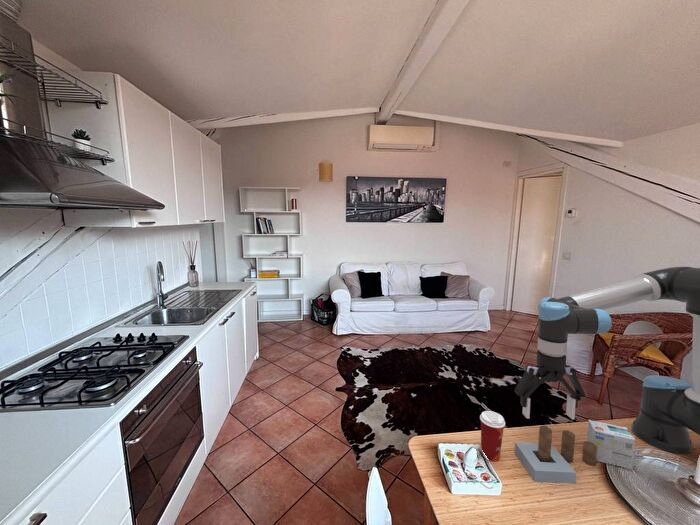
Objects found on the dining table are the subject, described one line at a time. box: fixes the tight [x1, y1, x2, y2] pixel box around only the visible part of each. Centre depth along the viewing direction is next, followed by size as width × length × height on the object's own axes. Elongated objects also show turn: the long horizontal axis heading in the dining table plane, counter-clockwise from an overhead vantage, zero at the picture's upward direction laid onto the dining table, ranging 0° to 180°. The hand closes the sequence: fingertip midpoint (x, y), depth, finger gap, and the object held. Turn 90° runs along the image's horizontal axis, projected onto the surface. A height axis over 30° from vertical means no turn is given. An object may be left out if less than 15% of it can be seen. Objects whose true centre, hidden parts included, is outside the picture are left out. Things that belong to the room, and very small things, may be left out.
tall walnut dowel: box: [537, 425, 553, 462], centre depth 94 cm, size 3×3×13 cm
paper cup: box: [479, 410, 506, 462], centre depth 98 cm, size 8×8×14 cm
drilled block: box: [514, 442, 577, 484], centre depth 94 cm, size 12×12×4 cm
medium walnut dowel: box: [560, 429, 576, 464], centre depth 97 cm, size 3×3×9 cm
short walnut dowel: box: [582, 440, 597, 467], centre depth 96 cm, size 3×3×6 cm
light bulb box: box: [586, 419, 636, 471], centre depth 97 cm, size 11×7×11 cm, turn 65°
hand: (547, 416), depth 93 cm, fingers open, 13 cm apart
